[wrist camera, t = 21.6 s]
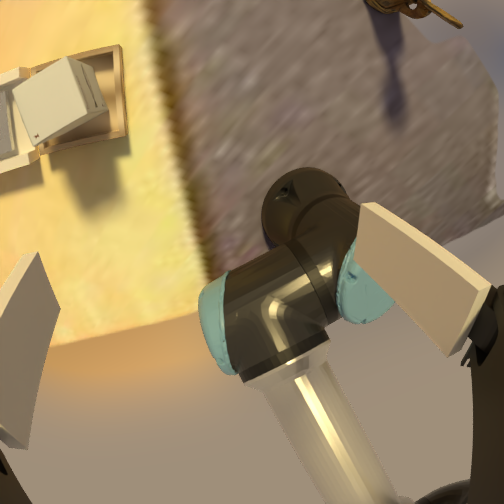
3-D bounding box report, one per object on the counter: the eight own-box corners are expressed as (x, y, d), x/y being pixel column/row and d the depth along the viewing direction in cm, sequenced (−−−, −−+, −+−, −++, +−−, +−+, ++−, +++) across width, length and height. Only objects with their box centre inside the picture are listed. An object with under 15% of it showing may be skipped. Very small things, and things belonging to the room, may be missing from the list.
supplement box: (110, 110, 35) (89, 116, 25) (65, 134, 35) (31, 149, 24) (94, 65, 32) (67, 53, 21) (48, 90, 31) (9, 90, 20)
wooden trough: (128, 133, 38) (125, 136, 36) (47, 151, 36) (40, 155, 33) (122, 48, 32) (118, 44, 29) (39, 69, 29) (30, 68, 27)
